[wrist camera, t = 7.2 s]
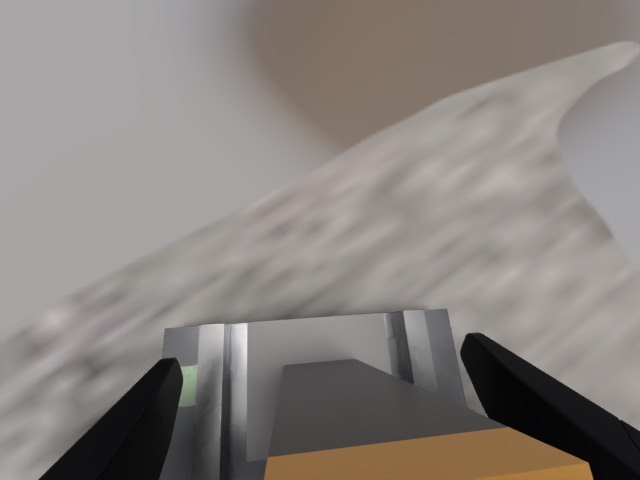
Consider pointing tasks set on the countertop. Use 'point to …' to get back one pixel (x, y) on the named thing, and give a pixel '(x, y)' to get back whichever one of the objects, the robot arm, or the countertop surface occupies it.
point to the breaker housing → (231, 388)
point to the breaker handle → (370, 414)
